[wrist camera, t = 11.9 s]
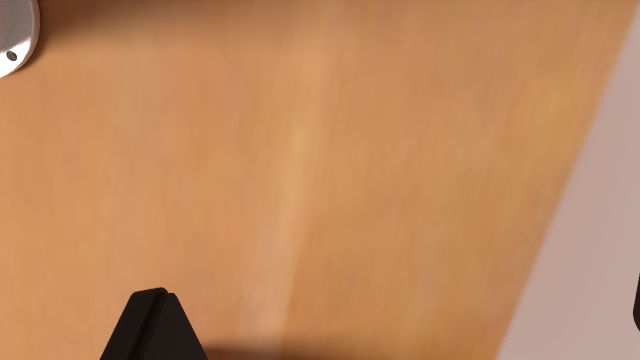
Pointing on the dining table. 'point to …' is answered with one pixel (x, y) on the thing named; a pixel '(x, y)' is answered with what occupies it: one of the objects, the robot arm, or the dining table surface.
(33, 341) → the dining table surface
